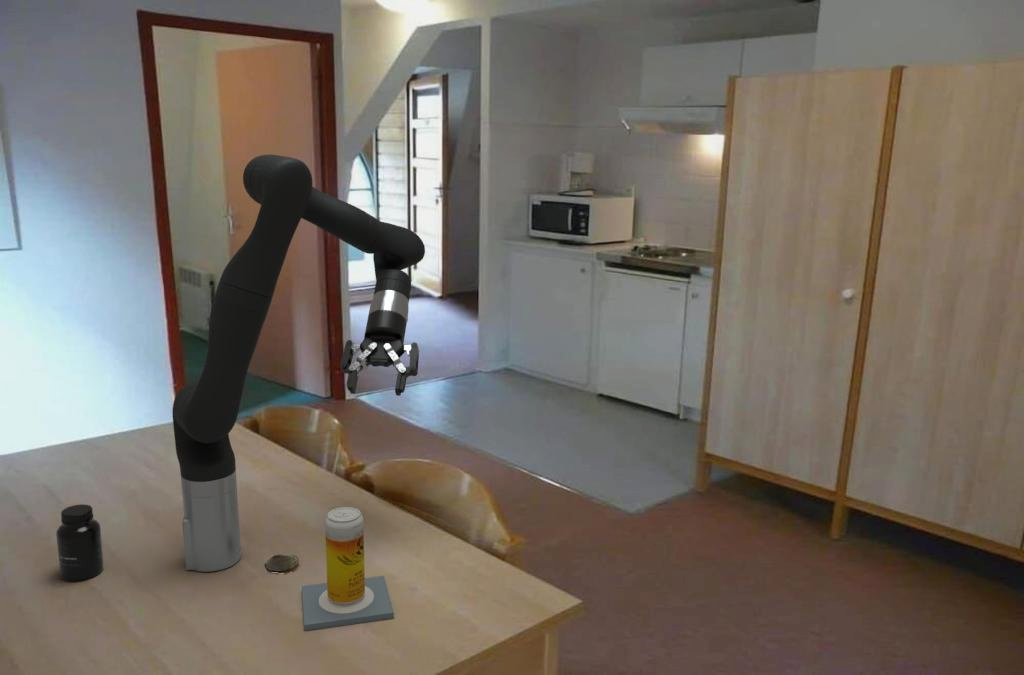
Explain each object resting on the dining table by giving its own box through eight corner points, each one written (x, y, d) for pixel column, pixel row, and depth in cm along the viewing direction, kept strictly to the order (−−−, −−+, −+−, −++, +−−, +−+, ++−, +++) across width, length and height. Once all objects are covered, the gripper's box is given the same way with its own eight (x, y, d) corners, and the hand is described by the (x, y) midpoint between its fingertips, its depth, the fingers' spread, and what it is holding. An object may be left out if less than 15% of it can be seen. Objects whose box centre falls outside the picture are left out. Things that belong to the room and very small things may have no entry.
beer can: (356, 609, 129) (354, 524, 125) (321, 604, 130) (318, 519, 127) (370, 590, 135) (368, 508, 131) (336, 585, 136) (334, 504, 132)
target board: (304, 630, 125) (304, 623, 125) (301, 591, 136) (301, 584, 136) (393, 618, 129) (393, 611, 128) (384, 580, 140) (384, 574, 140)
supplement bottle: (60, 586, 136) (52, 521, 133) (61, 568, 142) (53, 505, 139) (104, 577, 139) (98, 513, 137) (104, 559, 145) (97, 498, 142)
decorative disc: (259, 575, 141) (259, 570, 141) (270, 557, 148) (270, 553, 147) (296, 575, 141) (295, 570, 141) (305, 558, 148) (305, 553, 147)
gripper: (347, 307, 152) (331, 381, 143) (421, 309, 151) (410, 384, 142) (355, 328, 158) (341, 400, 149) (426, 330, 157) (416, 403, 148)
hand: (374, 392), depth 146 cm, fingers open, 8 cm apart
